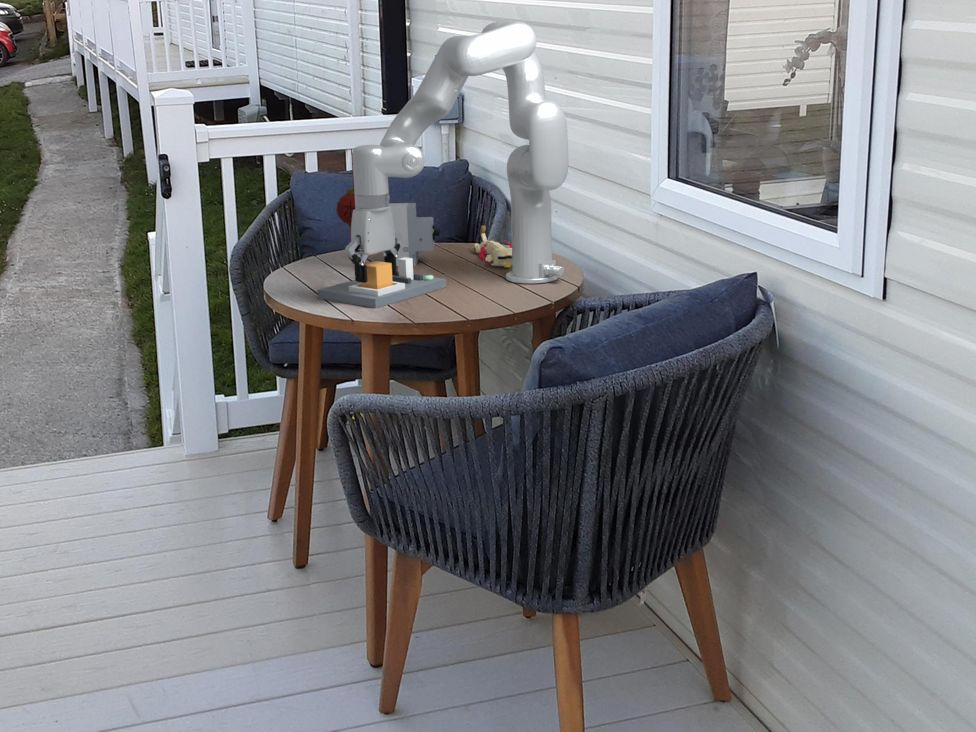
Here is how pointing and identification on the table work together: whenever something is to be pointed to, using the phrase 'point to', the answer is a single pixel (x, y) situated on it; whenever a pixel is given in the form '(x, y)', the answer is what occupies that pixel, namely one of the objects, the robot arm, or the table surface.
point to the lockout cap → (378, 275)
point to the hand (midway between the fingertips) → (376, 277)
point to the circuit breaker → (412, 231)
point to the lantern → (347, 204)
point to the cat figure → (493, 251)
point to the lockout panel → (382, 291)
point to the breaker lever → (405, 267)
